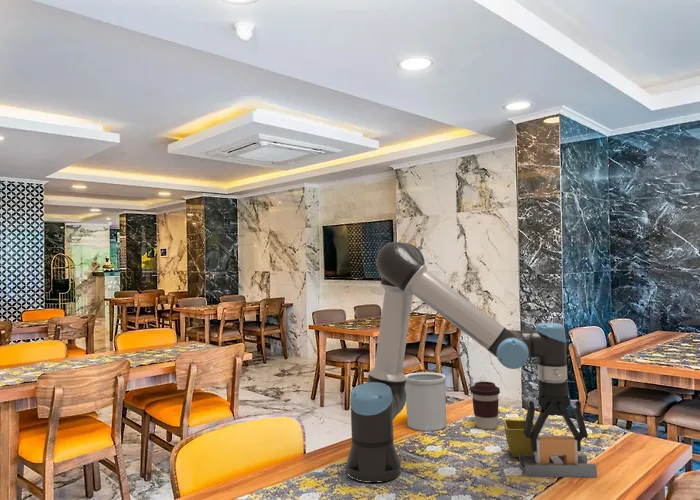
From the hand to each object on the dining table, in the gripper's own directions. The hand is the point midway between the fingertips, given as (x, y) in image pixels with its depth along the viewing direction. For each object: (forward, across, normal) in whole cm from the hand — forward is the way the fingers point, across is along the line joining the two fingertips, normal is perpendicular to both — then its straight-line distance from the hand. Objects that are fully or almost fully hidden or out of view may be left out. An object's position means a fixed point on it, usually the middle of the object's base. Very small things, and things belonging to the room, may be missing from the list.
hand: (556, 463), depth 135 cm
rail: (+2, 0, 0) cm, 2 cm away
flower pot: (+2, -7, +11) cm, 13 cm away
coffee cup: (+2, -12, +37) cm, 39 cm away
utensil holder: (+2, -33, +39) cm, 51 cm away
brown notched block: (0, 0, 0) cm, 0 cm away
